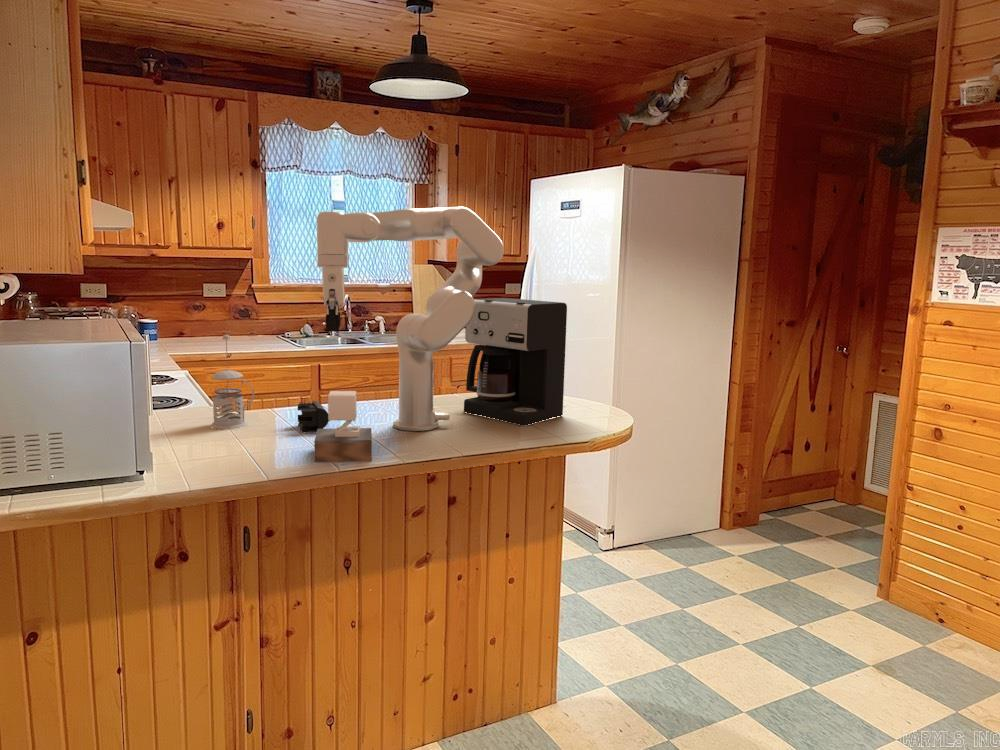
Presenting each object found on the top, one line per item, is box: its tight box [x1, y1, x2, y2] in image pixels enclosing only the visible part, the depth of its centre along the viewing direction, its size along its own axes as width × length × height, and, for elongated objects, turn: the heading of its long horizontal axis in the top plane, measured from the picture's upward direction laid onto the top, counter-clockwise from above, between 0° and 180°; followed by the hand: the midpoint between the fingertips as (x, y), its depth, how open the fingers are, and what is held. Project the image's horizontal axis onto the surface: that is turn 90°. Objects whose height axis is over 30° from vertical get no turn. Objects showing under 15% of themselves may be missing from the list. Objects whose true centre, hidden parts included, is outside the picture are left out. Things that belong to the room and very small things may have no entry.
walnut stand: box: [314, 427, 373, 463], centre depth 180 cm, size 13×12×5 cm
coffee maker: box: [463, 297, 568, 426], centre depth 228 cm, size 28×20×35 cm
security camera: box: [327, 390, 361, 437], centre depth 179 cm, size 6×7×10 cm
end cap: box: [297, 400, 330, 433], centre depth 205 cm, size 10×7×7 cm
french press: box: [210, 334, 255, 430], centre depth 205 cm, size 10×12×25 cm
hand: (333, 329), depth 193 cm, fingers open, 9 cm apart
